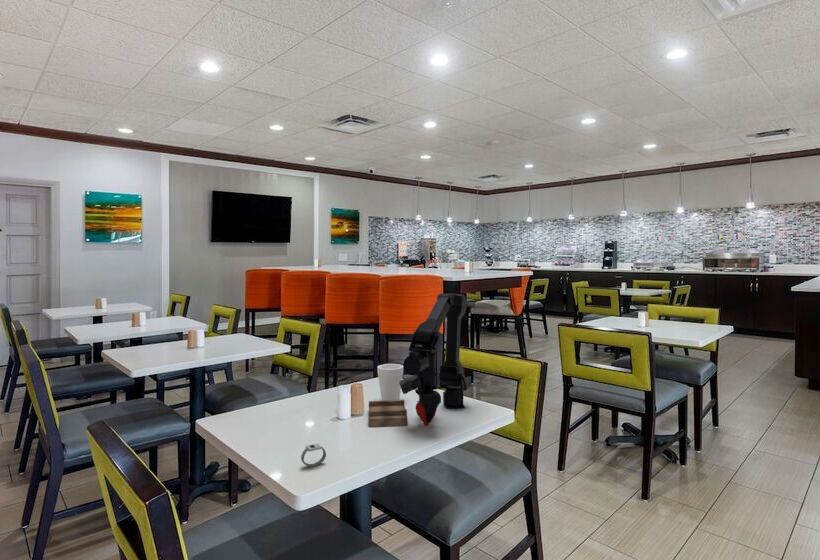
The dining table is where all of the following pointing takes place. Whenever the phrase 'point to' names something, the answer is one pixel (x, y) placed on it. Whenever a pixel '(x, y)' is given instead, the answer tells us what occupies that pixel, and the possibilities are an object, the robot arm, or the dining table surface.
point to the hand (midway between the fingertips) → (426, 417)
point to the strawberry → (422, 413)
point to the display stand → (387, 413)
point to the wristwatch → (312, 448)
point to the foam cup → (390, 381)
